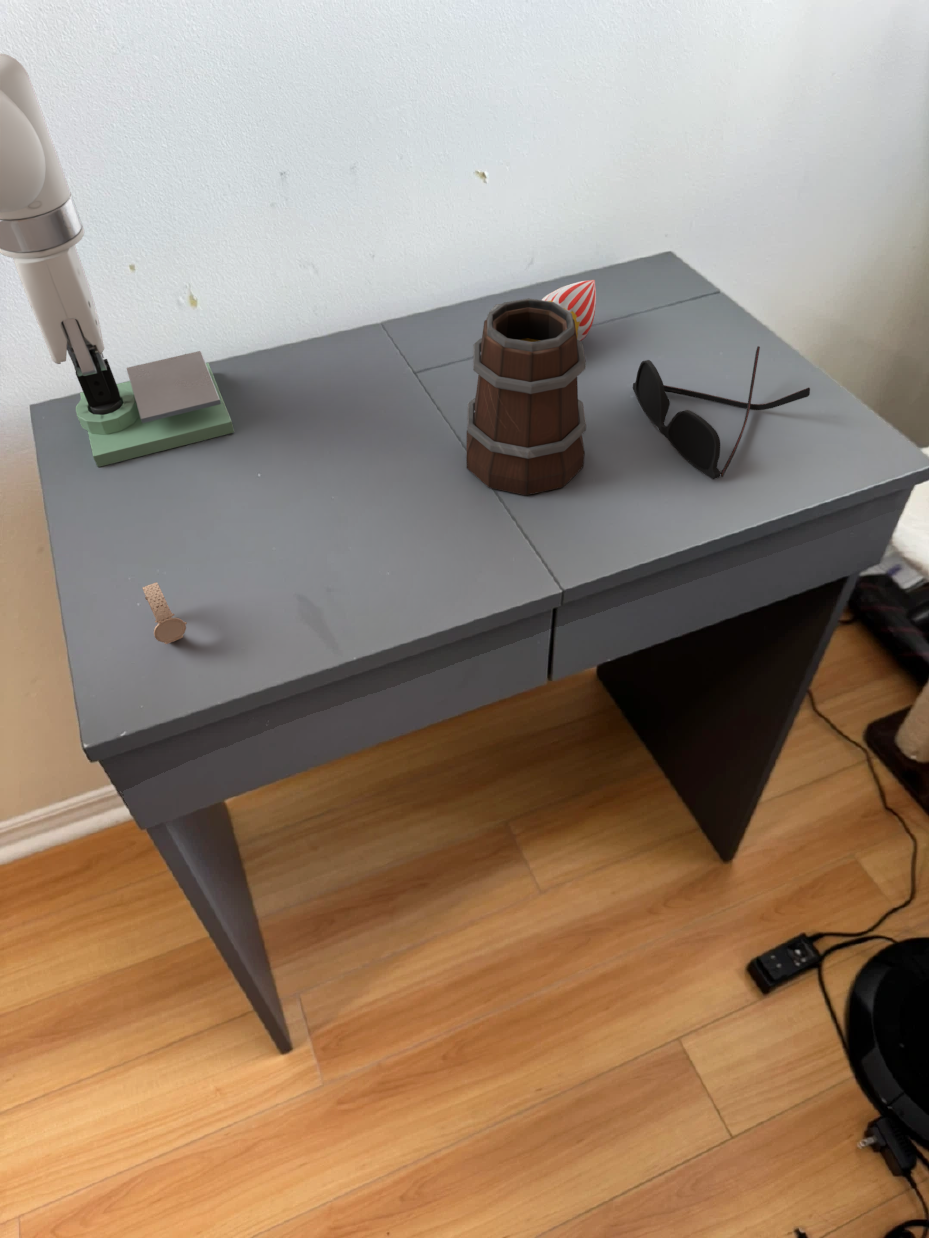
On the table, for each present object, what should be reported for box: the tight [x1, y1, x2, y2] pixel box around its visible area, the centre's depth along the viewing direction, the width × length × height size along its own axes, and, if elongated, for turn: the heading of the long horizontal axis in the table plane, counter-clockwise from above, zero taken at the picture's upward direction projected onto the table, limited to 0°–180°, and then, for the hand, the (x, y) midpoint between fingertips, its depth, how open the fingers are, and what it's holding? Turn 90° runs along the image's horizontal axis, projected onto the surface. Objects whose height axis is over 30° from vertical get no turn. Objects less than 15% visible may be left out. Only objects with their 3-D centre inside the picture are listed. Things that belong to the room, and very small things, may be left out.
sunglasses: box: [632, 345, 811, 480], centre depth 89 cm, size 17×14×5 cm
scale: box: [75, 362, 235, 468], centre depth 92 cm, size 14×12×3 cm
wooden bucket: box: [465, 297, 587, 496], centre depth 83 cm, size 16×12×15 cm
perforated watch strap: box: [142, 581, 188, 645], centre depth 71 cm, size 3×5×5 cm, turn 30°
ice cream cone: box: [541, 279, 597, 342], centre depth 98 cm, size 6×6×20 cm
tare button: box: [90, 401, 122, 415], centre depth 90 cm, size 3×3×2 cm
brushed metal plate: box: [126, 350, 221, 423], centre depth 91 cm, size 8×10×1 cm
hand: (104, 400), depth 90 cm, fingers closed
